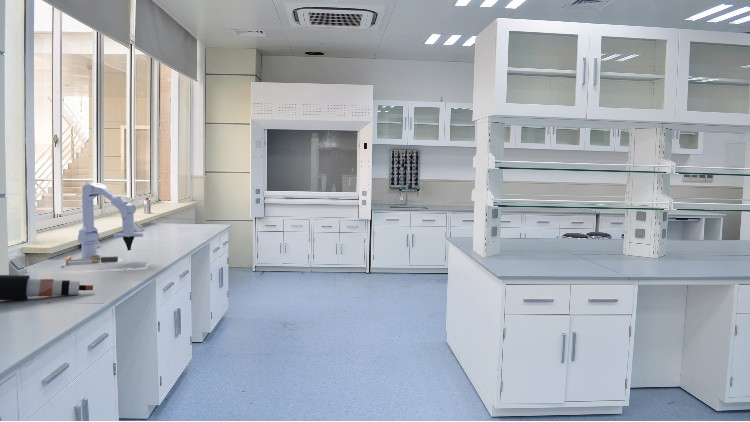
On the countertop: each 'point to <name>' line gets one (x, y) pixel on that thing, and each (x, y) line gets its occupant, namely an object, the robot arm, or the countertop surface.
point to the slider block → (95, 258)
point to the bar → (109, 259)
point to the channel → (84, 261)
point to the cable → (37, 287)
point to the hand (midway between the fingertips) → (129, 250)
